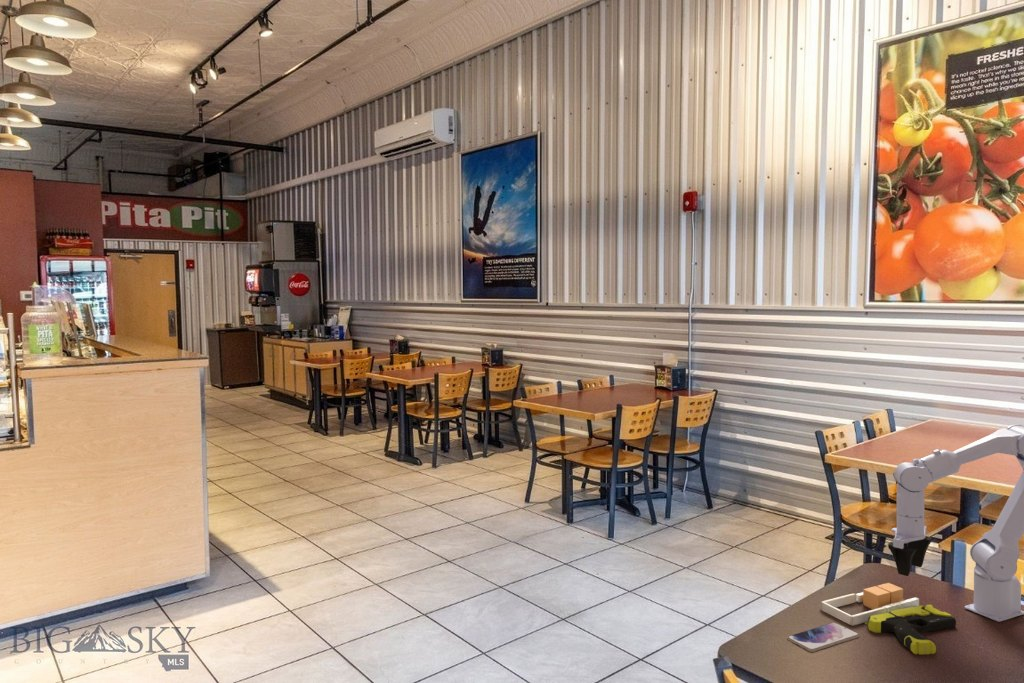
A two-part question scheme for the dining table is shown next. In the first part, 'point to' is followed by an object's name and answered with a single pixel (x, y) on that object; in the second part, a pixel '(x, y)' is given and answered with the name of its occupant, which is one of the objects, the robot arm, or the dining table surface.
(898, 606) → the rail channel
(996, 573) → the robot arm
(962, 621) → the dining table surface
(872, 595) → the tan wooden cube
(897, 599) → the light orange cube
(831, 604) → the tray
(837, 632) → the smartphone
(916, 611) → the stun gun
